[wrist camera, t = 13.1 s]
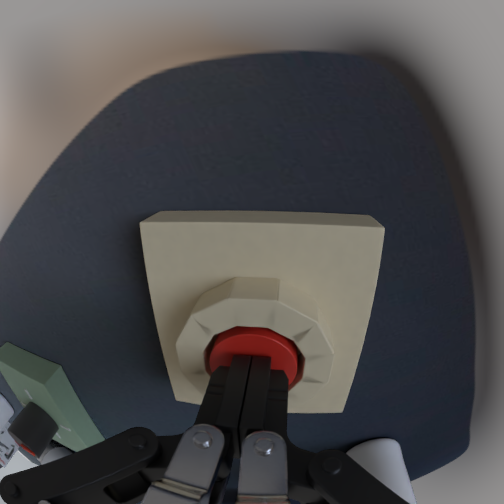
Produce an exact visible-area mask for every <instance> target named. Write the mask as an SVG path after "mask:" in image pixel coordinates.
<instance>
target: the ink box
mask: <svg viewBox="0 0 504 504" xmlns="http://www.w3.org/2000/svg"><path fill="white" fill-rule="evenodd" d="M10 425H11V424H10V423H9V421H7V423H6V424H5V425H4V427H3V428H2V429H1V430H0V464H1V465H2V466H3V467H4V468H5V467H6V465H7V464H8V462H9V461H10V459H11V458H12V456H13V455H14V454H15V452H16V451H17V450H18V448H19V447H20V445H19V444H18V443H17V442H16V441H15V440H14V439H13V438H12V437H11V435H10V434H9V433H8V431H7V429H8V428H9V426H10Z"/></svg>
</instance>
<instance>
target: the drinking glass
mask: <svg viewBox="0 0 504 504" xmlns="http://www.w3.org/2000/svg"><path fill="white" fill-rule="evenodd" d="M346 454H347V455H348V456H350V457H351V458H352V459H353V460H354V461H356V462H357V463H358V464H359V465H360V466H362V467H363V468H364V469H365V470H366V471H368V472H369V473H370V474H371V475H373V476H374V477H375V478H376V479H378V480H379V481H380V482H381V483H383V484H384V485H385V486H387V487H388V488H389V489H391V490H392V491H393V492H394V493H396V494H397V495H399V496H400V497H401V498H403V499H404V500H405V501H407V502H408V503H410V504H417V502H416V498H415V495H414V492H413V488H412V485H411V482H410V479H409V476H408V473H407V470H406V466H405V463H404V460H403V456H402V452H401V448H400V445H399V443H398V442H397V441H395V440H393V439H390V438H379V439H373V440H369V441H366V442H363V443H361V444H358V445H356V446H355V447H353V448H351V449H350V450H349V451H348V452H347V453H346Z"/></svg>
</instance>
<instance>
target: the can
mask: <svg viewBox="0 0 504 504" xmlns="http://www.w3.org/2000/svg"><path fill="white" fill-rule="evenodd" d="M13 414H14V409H13V407H12V406H11V404H10V403H9V402H8V400H7V399H6V398H5V397H4V396H3V395H2V394H1V393H0V430H1V429H2V428H3V427H4V425H5V424H6V423H7V421H8V420H9V419H10V418H11V416H12V415H13Z"/></svg>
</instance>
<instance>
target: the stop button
mask: <svg viewBox="0 0 504 504" xmlns="http://www.w3.org/2000/svg"><path fill="white" fill-rule="evenodd" d="M234 354H237V355H250V356H252V358H253V356H267V357H271V369H274V370H284V372H285V373H286V375H287V377H288V379H289V385H290V384H291V383H292V381H293V380H294V378H295V376H296V373H297V346H296V344H295V343H294V341H293V340H291V339H289V338H287V337H285V336H283V335H281V334H279V333H277V332H275V331H273V330H271V329H269V328H264V327H247V326H235V327H233V328H230V329H228V330H225V331H223V332H220V333H218V336H217V338H216V341H215V344H214V346H213V349H212V352H211V355H210V360H209V361H210V368H211V371H212V373H213V372H214V371H215V370H216V369H217V368H218V367H219V366H220V365H221V366H230V365H231V361H232V358H233V355H234Z"/></svg>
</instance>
